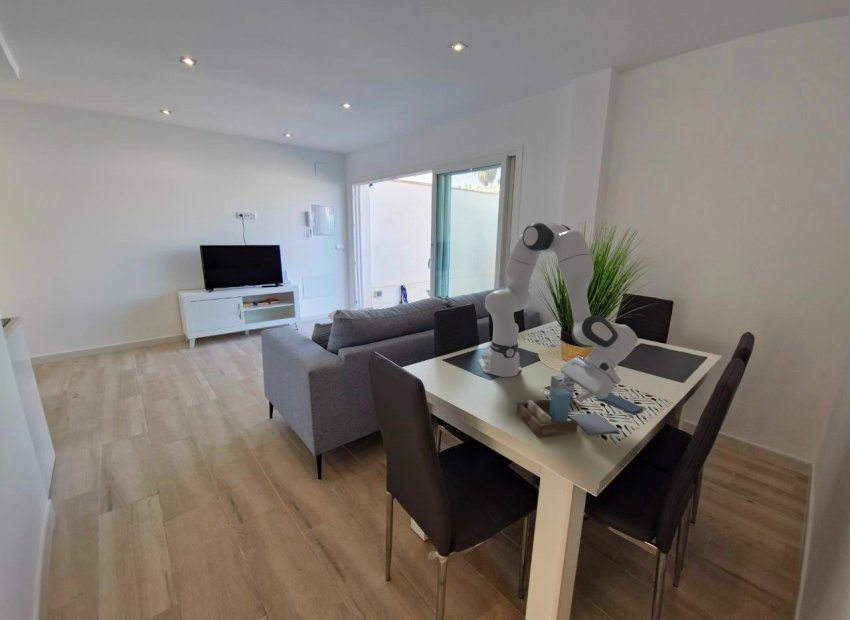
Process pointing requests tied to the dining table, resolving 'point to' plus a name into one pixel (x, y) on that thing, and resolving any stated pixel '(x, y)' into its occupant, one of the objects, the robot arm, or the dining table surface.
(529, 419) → the tray
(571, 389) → the medicine box
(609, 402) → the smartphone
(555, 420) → the teal rectangular block
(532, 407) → the offcut stack
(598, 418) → the grey mat
